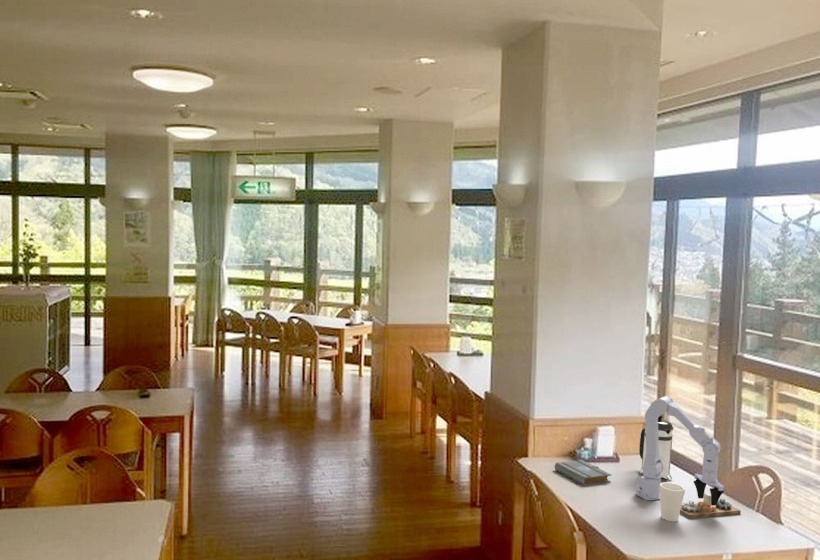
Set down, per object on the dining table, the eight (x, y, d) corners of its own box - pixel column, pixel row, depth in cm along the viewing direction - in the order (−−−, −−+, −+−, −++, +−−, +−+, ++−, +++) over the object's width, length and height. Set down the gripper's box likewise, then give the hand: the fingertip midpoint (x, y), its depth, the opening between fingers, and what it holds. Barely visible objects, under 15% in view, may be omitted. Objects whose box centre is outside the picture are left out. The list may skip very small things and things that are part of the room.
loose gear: (706, 511, 282) (707, 498, 282) (694, 505, 289) (695, 492, 288) (719, 510, 285) (720, 497, 284) (707, 504, 291) (708, 491, 291)
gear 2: (721, 510, 285) (722, 503, 285) (709, 503, 291) (709, 497, 291) (734, 509, 287) (735, 502, 287) (722, 502, 294) (723, 495, 293)
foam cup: (670, 524, 271) (673, 492, 270) (652, 515, 279) (654, 483, 278) (687, 521, 275) (689, 489, 274) (668, 512, 283) (671, 481, 283)
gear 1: (689, 513, 280) (690, 505, 279) (678, 506, 286) (678, 499, 286) (703, 511, 282) (704, 504, 282) (691, 505, 288) (692, 498, 288)
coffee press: (675, 475, 330) (680, 414, 329) (667, 484, 317) (673, 420, 315) (638, 467, 340) (643, 407, 338) (629, 476, 326) (634, 413, 324)
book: (554, 471, 328) (554, 461, 328) (582, 468, 335) (582, 458, 335) (582, 486, 309) (583, 476, 309) (611, 483, 316) (612, 472, 316)
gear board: (689, 518, 278) (689, 512, 278) (672, 509, 287) (672, 502, 287) (740, 514, 286) (740, 507, 286) (722, 504, 296) (722, 498, 295)
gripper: (730, 475, 280) (728, 507, 281) (705, 463, 294) (702, 494, 295) (717, 475, 278) (714, 508, 279) (691, 464, 292) (688, 495, 292)
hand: (707, 501), depth 286 cm, fingers open, 7 cm apart
